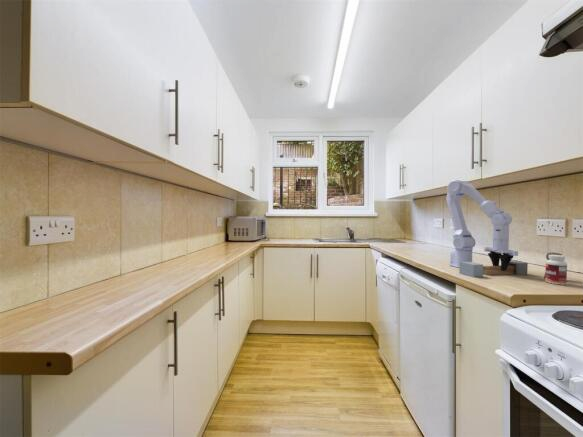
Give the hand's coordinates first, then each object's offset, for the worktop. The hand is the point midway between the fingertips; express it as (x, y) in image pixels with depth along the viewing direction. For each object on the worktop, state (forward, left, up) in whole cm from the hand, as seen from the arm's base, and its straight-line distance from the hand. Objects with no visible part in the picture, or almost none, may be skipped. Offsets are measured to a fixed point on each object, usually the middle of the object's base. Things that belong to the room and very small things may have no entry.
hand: (499, 269), depth 128 cm
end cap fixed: (0, +9, -2) cm, 9 cm away
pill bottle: (+18, +6, -2) cm, 19 cm away
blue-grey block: (0, -16, -2) cm, 16 cm away
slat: (0, -1, -2) cm, 2 cm away
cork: (+12, +14, -2) cm, 19 cm away
